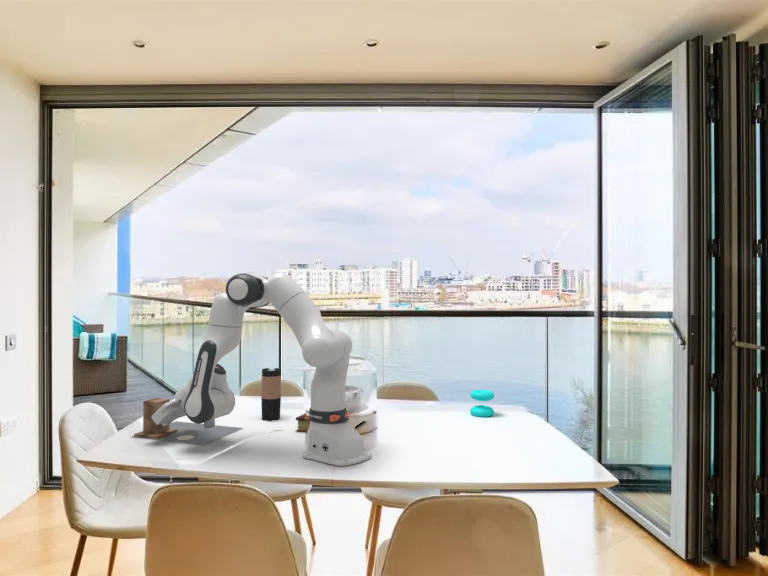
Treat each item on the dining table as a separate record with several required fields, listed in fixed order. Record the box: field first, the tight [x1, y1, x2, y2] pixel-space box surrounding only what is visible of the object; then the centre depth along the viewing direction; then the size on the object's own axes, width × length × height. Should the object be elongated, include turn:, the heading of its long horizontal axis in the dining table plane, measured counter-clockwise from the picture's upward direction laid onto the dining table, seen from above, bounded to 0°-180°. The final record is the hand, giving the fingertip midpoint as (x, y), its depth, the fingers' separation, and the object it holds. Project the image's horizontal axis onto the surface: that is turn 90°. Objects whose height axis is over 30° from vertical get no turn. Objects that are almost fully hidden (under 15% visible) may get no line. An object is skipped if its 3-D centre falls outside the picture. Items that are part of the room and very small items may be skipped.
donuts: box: [469, 389, 495, 418], centre depth 233 cm, size 10×10×10 cm
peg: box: [203, 418, 216, 428], centre depth 204 cm, size 4×4×10 cm
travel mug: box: [260, 367, 282, 422], centre depth 222 cm, size 8×8×20 cm
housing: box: [133, 397, 178, 439], centre depth 194 cm, size 10×10×12 cm
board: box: [131, 420, 245, 447], centre depth 196 cm, size 30×24×1 cm
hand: (164, 424), depth 192 cm, fingers closed, pressing on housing
